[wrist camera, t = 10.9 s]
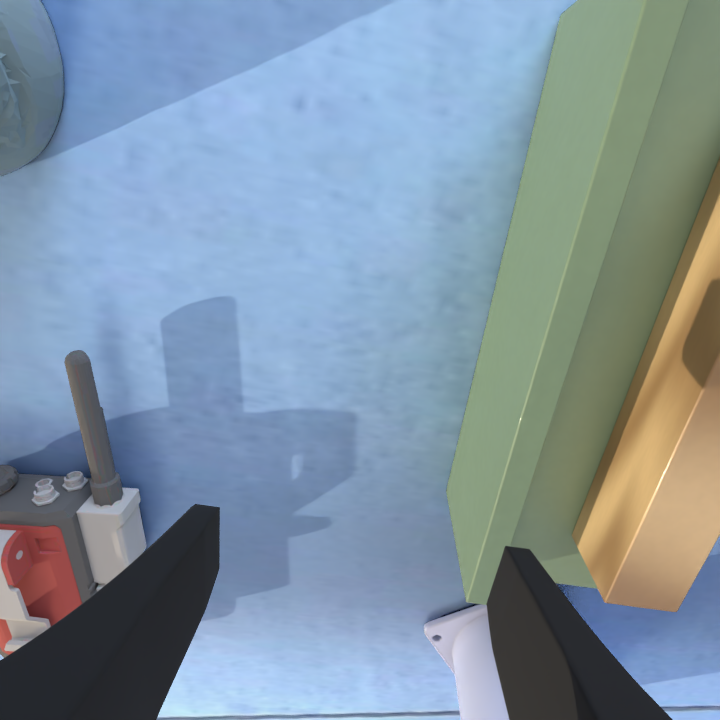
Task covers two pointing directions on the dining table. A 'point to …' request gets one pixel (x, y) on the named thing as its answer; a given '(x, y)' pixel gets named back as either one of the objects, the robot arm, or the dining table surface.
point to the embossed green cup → (27, 82)
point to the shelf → (583, 272)
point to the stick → (664, 444)
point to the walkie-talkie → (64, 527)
